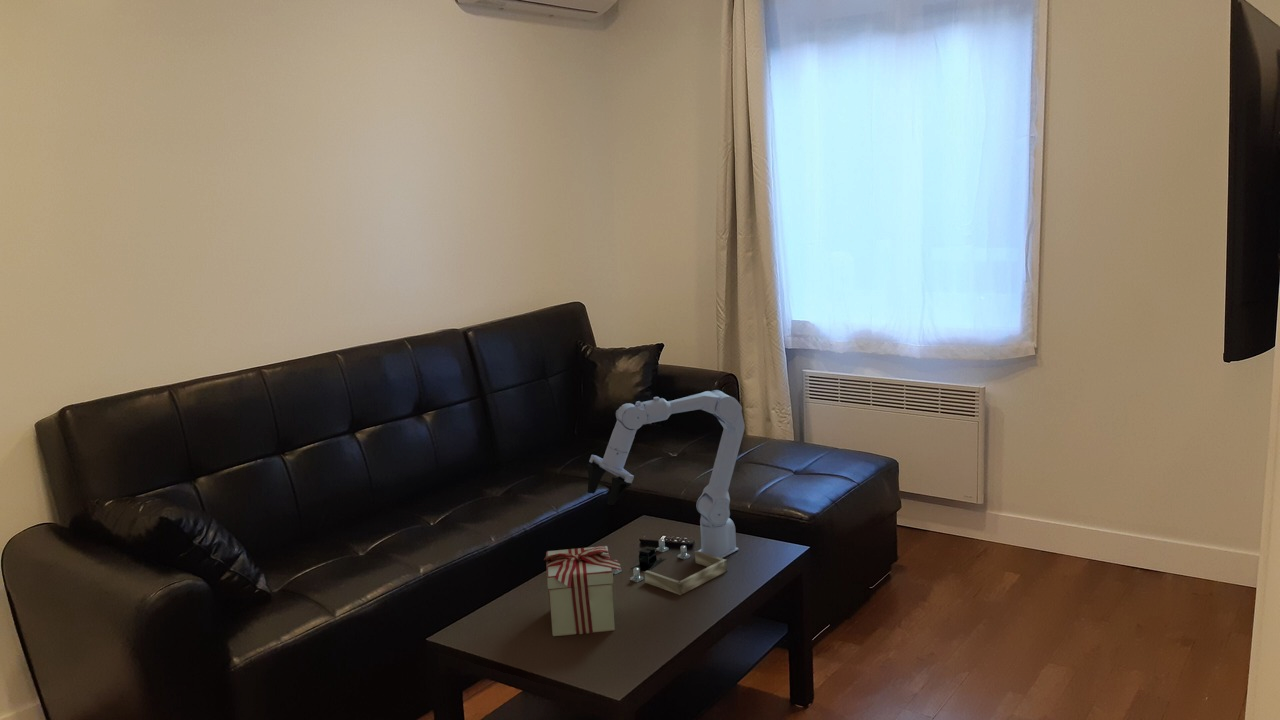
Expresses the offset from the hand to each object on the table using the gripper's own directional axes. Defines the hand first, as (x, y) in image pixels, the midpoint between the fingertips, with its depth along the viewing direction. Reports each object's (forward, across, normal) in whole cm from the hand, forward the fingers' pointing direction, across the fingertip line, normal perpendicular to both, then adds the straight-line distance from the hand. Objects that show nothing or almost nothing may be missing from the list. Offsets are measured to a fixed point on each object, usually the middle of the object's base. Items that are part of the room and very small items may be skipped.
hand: (600, 498), depth 243 cm
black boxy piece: (+14, +9, +17) cm, 24 cm away
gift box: (+24, +21, -14) cm, 35 cm away
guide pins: (+14, +9, +17) cm, 24 cm away
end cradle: (+11, +22, +16) cm, 30 cm away
